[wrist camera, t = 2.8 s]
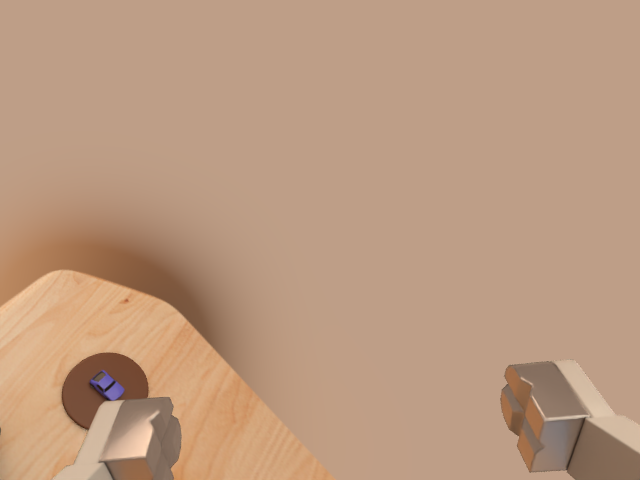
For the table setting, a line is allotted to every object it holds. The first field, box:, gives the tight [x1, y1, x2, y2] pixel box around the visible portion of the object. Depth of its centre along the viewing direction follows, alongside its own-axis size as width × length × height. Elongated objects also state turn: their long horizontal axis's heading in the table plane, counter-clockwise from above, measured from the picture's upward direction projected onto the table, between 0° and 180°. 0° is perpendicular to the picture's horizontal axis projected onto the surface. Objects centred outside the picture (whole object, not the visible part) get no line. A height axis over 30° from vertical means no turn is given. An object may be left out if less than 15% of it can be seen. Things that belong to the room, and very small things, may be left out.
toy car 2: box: [62, 353, 148, 430], centre depth 46 cm, size 8×8×2 cm
